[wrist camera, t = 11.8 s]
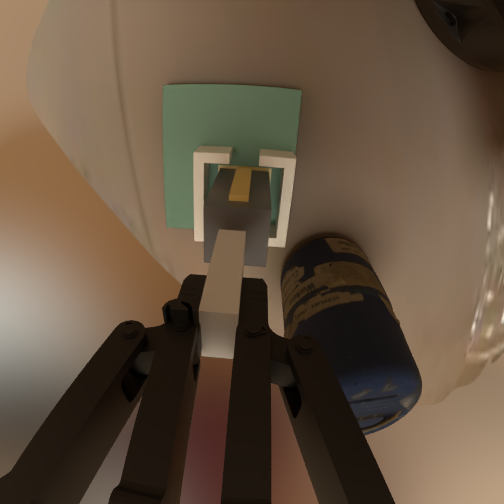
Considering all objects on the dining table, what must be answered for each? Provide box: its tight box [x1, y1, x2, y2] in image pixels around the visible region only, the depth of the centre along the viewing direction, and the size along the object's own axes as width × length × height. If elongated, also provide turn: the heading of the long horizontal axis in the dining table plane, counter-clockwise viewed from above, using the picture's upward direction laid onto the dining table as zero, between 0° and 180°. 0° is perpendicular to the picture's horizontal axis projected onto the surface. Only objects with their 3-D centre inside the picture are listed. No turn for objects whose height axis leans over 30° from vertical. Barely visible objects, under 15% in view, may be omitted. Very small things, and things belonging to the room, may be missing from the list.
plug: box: [203, 168, 272, 267], centre depth 22 cm, size 4×4×8 cm
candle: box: [281, 238, 422, 436], centre depth 23 cm, size 10×10×18 cm
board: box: [163, 84, 302, 229], centre depth 25 cm, size 13×11×1 cm
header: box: [193, 146, 296, 247], centre depth 24 cm, size 8×8×2 cm
